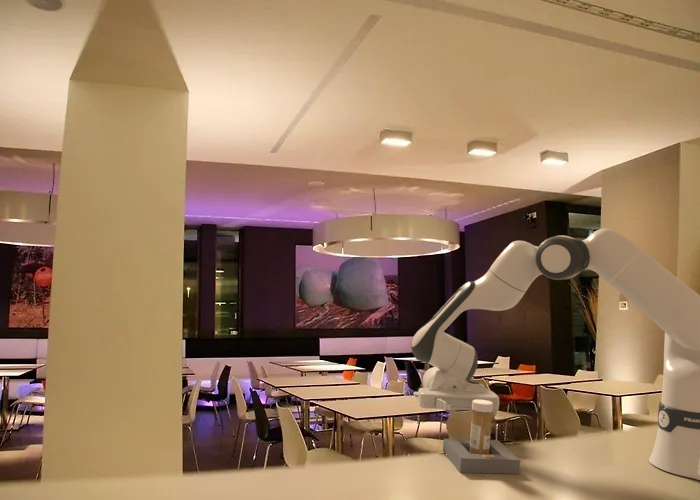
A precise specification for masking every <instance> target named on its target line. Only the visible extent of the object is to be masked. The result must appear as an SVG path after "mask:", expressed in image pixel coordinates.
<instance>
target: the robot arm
mask: <svg viewBox="0 0 700 500" xmlns="http://www.w3.org/2000/svg"><path fill="white" fill-rule="evenodd" d="M585 270H590V271H593V272H595V273H596V274H597V275H599V276H600V277H601V278H602V279H604V280H605V281H606V282H607V283H608V284H609V285H611V286H612V287H613V288H614V289H615V290H616V291H618V292H619V293H620V294H621V295H622V296H624V298H626V299H627V300H628V301H630V303H631V304H632V305H634V306H635V307H636V308H637V309H638V310H640V311H641V312H642V313H643V314H644V315H646V317H647V318H649V320H651V321H652V322H653V323H654V324H655V325H657V326H658V327H659V328H660V329H661V330H662V331H663V332H664V348H663V373H662V374H663V376H662V388H661V389H662V390H661V401H660V402H658V412H657V425H658V428H657V433H656V437H655V442H654V445H653V449H652V451H651V455H650V456H649V458H648V461H649V463H650V464H651V465H653V466H654V467H656V468H658V469H660V470H662V471H665V472H668V473H671V474H674V475H678V476H681V477H685V478H690V479H694V480H697V481H700V294H699V293H697V292H696V291H695V290H694V289H693V288H691V287H690V286H688V284H686V283H685V282H683V281H682V280H681V279H680V278H678V277H677V276H675V275H674V274H673V273H672V272H671V271H670V270H668V269H667V268H665V267H664V266H663V265H662V264H660V263H659V261H657V260H656V259H655V258H653V257H652V256H651V255H649V253H647V252H646V251H645V250H643V249H642V248H641V247H640V246H638V245H637V244H636V243H635V242H633V241H632V240H630V239H629V238H627V237H625V236H624V235H623V234H620V233H619V232H617V231H615V230H613V229H611V228H605V227H604V228H599V229H598V230H597V229H596V230H595V231H594V232H591V234H589V235H588V236H587V237H586V238H585V239H583V240H582V239H577V238H575V237H571V236H568V235H556V236H551V237H549V238H547V239H544V241H542V242H541V243H540V244H539V246H537V245H533V244H532V243H530V242H528V241H525V240H515V241H512V242H511V243H509V244H508V246H506V247H505V248H504V249H503V250H502V252H501V253H500V254H499V255H498V257H497V258H496V259H495V260H494V261H493V263H492V264H491V266H490V267H489V269H488V270H487V272H486V273H485V274H483V276H481V277H479V278H478V279H476V280H474V281H467V282H465V283H464V284H463V285H462V286H460V287H459V288H458V289H457V290H456V292H454V293H453V294H452V295H451V296H450V298H448V300H447V301H446V302H445V303H444V304H443V305H442V306H441V307H440V308H439V310H437V311H436V313H435V314H434V315H433V316H432V317H431V318H430V319H429V320H428V321H427V322H426V323H425V324H424V325H422V326H421V327H420V328H419V329H418V330H417V331H416V333H415V334H414V335H413V338H412V340H411V342H410V348H411V352H412V355H413V356H414V358H415V360H418V361H420V362H422V363H424V364H429V365H430V366H432V367H430V368H429V369H427V370H426V371H425V372H424V374H423V377H422V386H423V387H421V388H418V390H417V391H413V393H412V394H413V396H414V397H415V398H417V405H418V406H419V407H420V408H422V409H433V410H437V409H438V410H443V411H444V412H447V413H456V412H459V411H472V402H473V400H477V399H480V400H487V401H490V402H492V403H493V411H492V412H498V410H499V407H500V397H499V395H497V394H496V393H495V392H494V391H492V390H490V389H489V388H487V387H485V385H484V384H483V383H481V382H475V381H471V380H472V379H473V377H474V376H475V373H476V370H477V368H478V364H479V363H478V362H479V361H478V359H479V358H478V354H477V350H476V349H475V347H474V346H472V345H470V344H469V343H467V342H464V341H463V340H461V339H458V338H456V337H454V336H452V335H450V334H449V333H446V332H445V330H447V329H448V327H450V326H451V324H452V323H453V322H454V321H455V320H456V319H457V318H458V317H459V316H460V315H461V314H462V313H463V312H466V311H468V310H487V311H492V312H493V311H494V312H500V311H501V312H502V311H506V310H510V309H512V308H514V307H515V306H517V304H519V302H520V301H521V300H522V298H523V297H524V295H525V294H526V292H527V290H528V289H529V288H530V286H531V284H532V283H533V282H534V281H535V280H536V279H537V278H538V277H539V276H541V275H543V276H545V277H546V278H548V279H551V280H556V281H563V280H569V279H572V278H574V277H576V276H577V275H579V274H580V273H581V272H582V271H585Z"/></svg>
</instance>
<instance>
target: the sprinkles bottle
mask: <svg viewBox="0 0 700 500" xmlns="http://www.w3.org/2000/svg"><path fill="white" fill-rule="evenodd" d="M471 411H472V412H471V414H472V415H471V423H470V434H469V436H470V437H469V439H470V454H489V448H490V440H491V433H492V416H493V412H494V411H493V403H492V402H490V401H487V400H480V399H477V400H473V402H472V410H471Z"/></svg>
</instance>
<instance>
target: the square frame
mask: <svg viewBox="0 0 700 500" xmlns="http://www.w3.org/2000/svg"><path fill="white" fill-rule="evenodd" d="M442 452H443V453H444V455H445V454H447V456H446V457H447V458H448V459H449V461H450V462H451V463H452V464H453V466H454V467H455V468H456V469H457V471H458V472H459V473H460V474H461V473H462V474H463V473H466V474H468V473H470V474H495V473H509V474H508V475H520V470H521V469H520V468H521V459H520V458H519V457H518V456H516V455H515V454H514V453H513V452H512V451H511V450H510V449H509V448H507V447H506V446H505V445H504V444H503V443H502V442H501V441H499V440H498V439H490V448H489V454H470V438H443V442H442ZM480 472H481V473H480ZM517 473H518V474H517Z"/></svg>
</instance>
